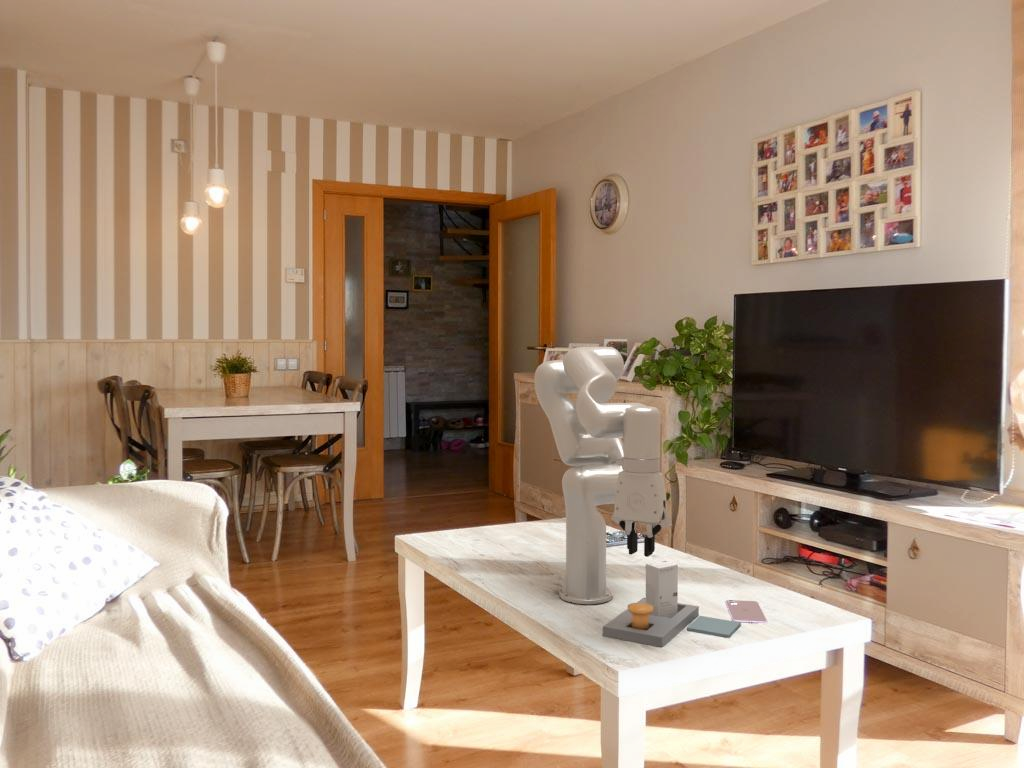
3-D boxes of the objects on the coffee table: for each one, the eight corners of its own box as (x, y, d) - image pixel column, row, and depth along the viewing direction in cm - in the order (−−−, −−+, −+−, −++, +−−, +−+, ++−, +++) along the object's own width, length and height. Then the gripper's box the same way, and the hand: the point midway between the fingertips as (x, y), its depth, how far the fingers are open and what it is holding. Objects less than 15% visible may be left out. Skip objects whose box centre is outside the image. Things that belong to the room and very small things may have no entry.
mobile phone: (732, 619, 185) (724, 598, 200) (732, 623, 185) (724, 602, 200) (768, 621, 184) (757, 600, 199) (768, 625, 184) (757, 604, 199)
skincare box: (658, 623, 185) (658, 568, 184) (644, 617, 188) (644, 563, 188) (678, 618, 188) (679, 564, 187) (664, 613, 192) (665, 559, 191)
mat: (686, 630, 180) (686, 627, 180) (700, 618, 188) (700, 615, 188) (728, 637, 176) (729, 635, 176) (740, 625, 183) (740, 622, 183)
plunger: (623, 628, 176) (623, 607, 176) (633, 621, 181) (633, 601, 181) (647, 633, 174) (647, 611, 174) (656, 625, 178) (656, 605, 178)
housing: (602, 635, 177) (602, 626, 177) (643, 606, 197) (643, 597, 197) (662, 647, 170) (662, 637, 170) (698, 615, 190) (698, 606, 190)
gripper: (597, 465, 177) (597, 553, 177) (672, 471, 168) (672, 563, 169) (612, 461, 183) (611, 545, 184) (685, 466, 175) (684, 555, 176)
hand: (640, 553), depth 177 cm, fingers open, 2 cm apart
